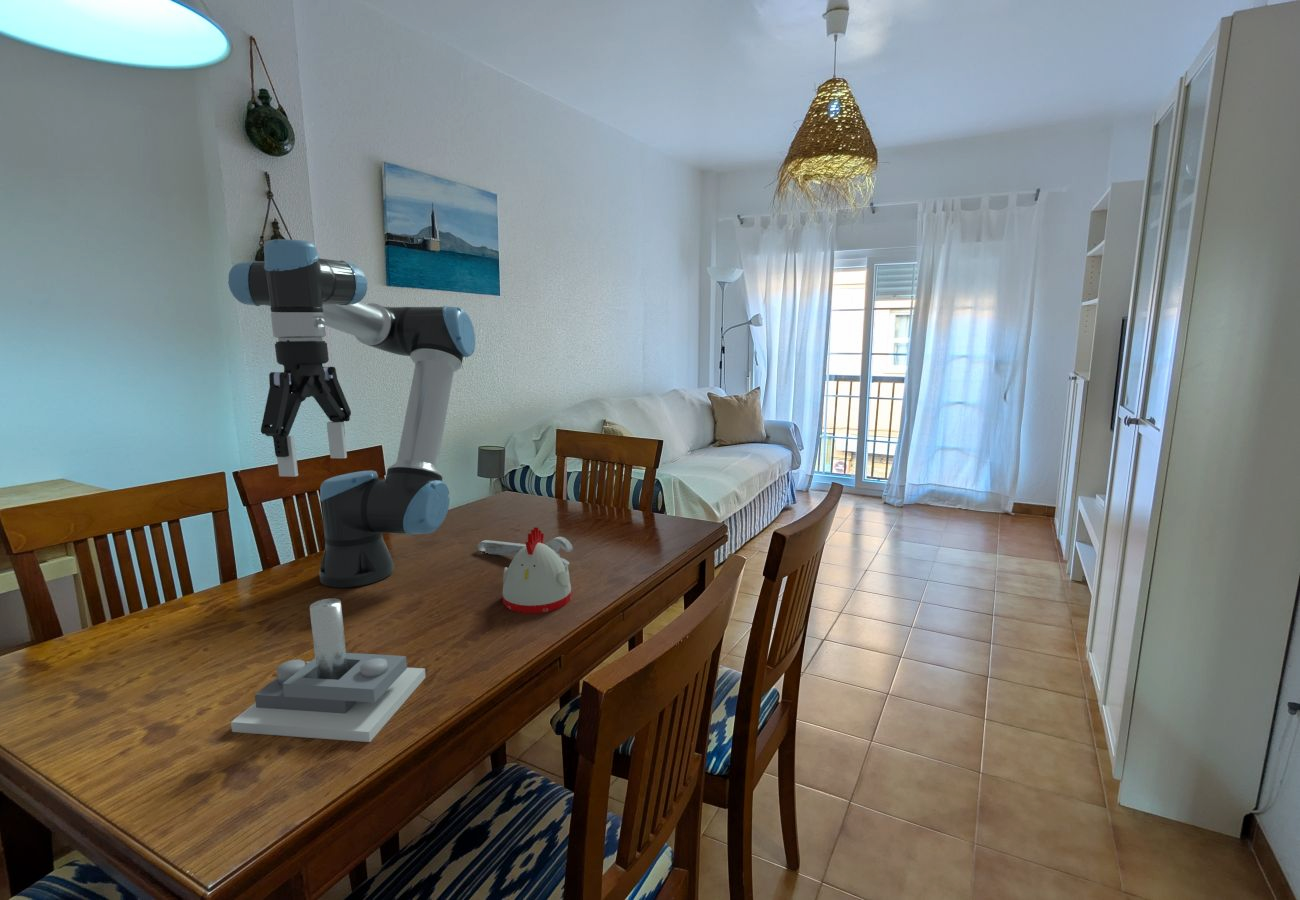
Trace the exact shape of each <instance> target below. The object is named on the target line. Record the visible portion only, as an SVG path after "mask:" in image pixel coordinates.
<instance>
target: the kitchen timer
mask: <svg viewBox="0 0 1300 900" xmlns="http://www.w3.org/2000/svg"><path fill="white" fill-rule="evenodd" d="M544 535H545V534H544V533H542V530H541V529H539V527H535V526H534V527H533V529H530V533H527V541H525V543H524V544H526V546H525V547H523V548H522V549H521V550H520V551H519V552H518V553H517V554H516V556H513V559H512V560H511V562H510V563H509V566H508V567H506V566H505V567H504V569H503V576H502V577H503V578H502V582H503V586H502V605H503V604H504V605H505V606H506V607H507V608H506V607H505V608H506V609H508V608H509V609H508V610H510V609H511V610H510V611H512V610H514V611H513V612H516V611H517V612H516V613H520V612H522V613H521V614H541V613H547V612H551V611H552V612H553V611H555V610H559V609H561V608H562V607H565V606H566V605H567V604H569V602H571V600H572V584H571V581H570V579H571V578H570V572H569V566H567V565H564V564H563V562H562V560H561V559H560V557H561V556H560V557H559V556H558V555H557V554H556V553H555V552H554V551H553V550H552V549H551V548H550V547H548V546H547V545H545V543H544V538H545V537H544ZM570 599H571V600H570ZM504 605H503V606H504ZM560 607H561V608H560Z"/></svg>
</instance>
